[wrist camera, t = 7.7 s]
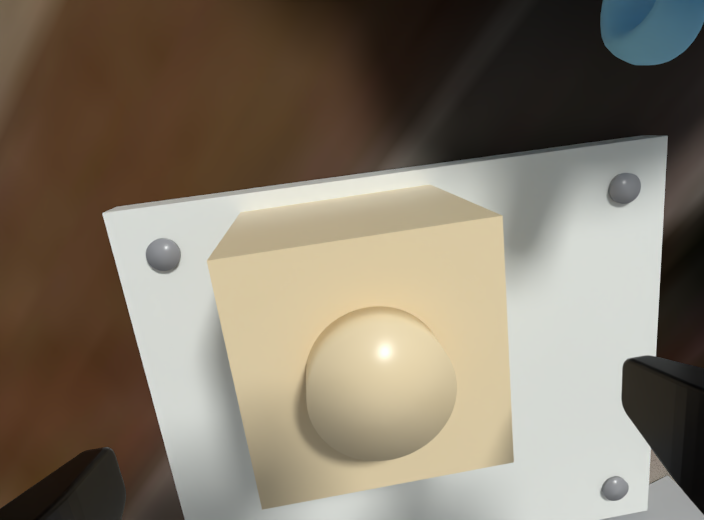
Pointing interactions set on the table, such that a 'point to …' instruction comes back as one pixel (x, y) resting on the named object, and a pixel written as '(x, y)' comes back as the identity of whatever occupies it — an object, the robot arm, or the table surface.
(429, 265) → the beige block
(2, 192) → the table surface
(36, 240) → the table surface
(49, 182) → the table surface
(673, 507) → the grey block
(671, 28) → the decorative pot
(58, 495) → the robot arm
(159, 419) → the junction plate
